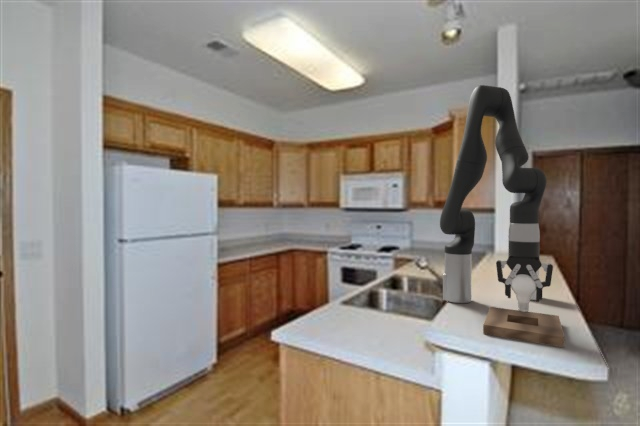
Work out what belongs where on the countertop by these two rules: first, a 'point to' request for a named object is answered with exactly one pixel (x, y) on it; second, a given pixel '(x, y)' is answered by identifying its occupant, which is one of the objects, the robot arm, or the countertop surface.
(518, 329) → the holder block
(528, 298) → the lightbulb
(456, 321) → the countertop surface
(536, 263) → the robot arm
